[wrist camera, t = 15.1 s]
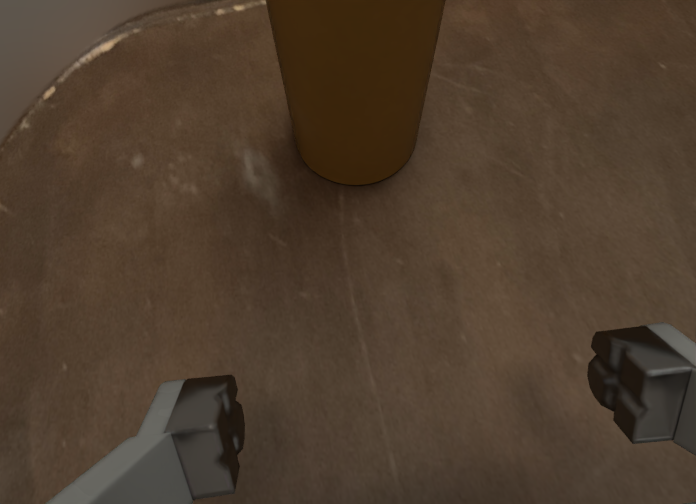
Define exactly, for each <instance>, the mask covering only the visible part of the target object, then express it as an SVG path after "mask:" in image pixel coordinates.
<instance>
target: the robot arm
mask: <svg viewBox="0 0 696 504" xmlns="http://www.w3.org/2000/svg"><path fill="white" fill-rule="evenodd" d="M591 348H592V349H593V351H594V352H595V353H596V356H595V357H594V358H593V359H592V360H591V361H590V362H589V364H588V374H587V377H588V381H589V386H590V389H591V391H592V393H593V395H594V397H595V398H596V399H597V401H598V402H599V403H600V405H602V406H604V407H606V408H608V409H610V410H611V411H613V412H614V418H613V421H614V422H615V423H616V424H617V425H618V427H619V428H620V429H621V430H622V431H623V433H624V434H625V435H626V436H627V438H628V439H629V440H630V441H631V442H632V444H637V443H647V442H657V441H668V440H674V441H673V442H674V443H676V444H678V445H679V446H681V447H682V448H684V449H686V450H687V451H689V452H691V453H692V454H694V455H696V344H695V343H694V342H693V341H691V340H690V339H689V338H688V337H686V336H685V335H684V334H682V333H681V332H680V331H678V330H677V329H676V328H674V327H673V326H672V325H670V324H667V323H664V322H661V323H654V324H648V325H641V326H639V327H631V328H623V329H615V330H607V331H599V332H596V333H595V335H594V336H593V338H592V344H591ZM237 391H238V388H237V385H236V381H235V377H234V376H232V375H222V376H212V377H202V378H191V379H187V380H186V379H183V380H174V381H165V382H164V383H162V384H161V385H160V386H159V388H158V390H157V393H156V395H155V397H154V399H153V401H152V403H151V405H150V407H149V410H148V412H147V414H146V416H145V418H144V420H143V422H142V424H141V427H140V429H139V431H138V433H137V435H136V437H130V438H128V439H126V440H125V441H124V442H122V443H121V444H120V445H119V446H117V447H116V448H115V449H114V450H112V451H111V452H110V453H109V454H107V455H106V456H105V457H104V458H102V459H101V460H100V461H98V462H97V463H96V464H95V465H93V466H92V467H91V468H90V469H88V470H87V471H86V472H85V473H83V474H82V475H81V476H80V477H78V478H77V479H76V480H74V481H73V482H72V483H71V484H69V485H68V486H67V487H66V488H64V489H63V490H62V491H61V492H59V493H58V494H57V495H56V496H54V497H53V498H52V499H50V500H49V501H48V502H47V503H45V504H192V503H193V500H196V499H202V498H209V497H215V496H222V495H228V494H235V489H236V483H237V478H238V473H239V467H240V465H239V461H238V457H237V455H238V454H239V453H240V452H241V450H242V449H243V445H244V439H245V422H244V414H243V409H242V405H241V404H239V403H238V402H237V401H236V395H237ZM684 504H696V502H692V503H684Z"/></svg>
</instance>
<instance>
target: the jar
mask: <svg viewBox="0 0 696 504" xmlns="http://www.w3.org/2000/svg"><path fill="white" fill-rule="evenodd" d="M445 1H446V0H266V5H267V10H268V14H269V19H270V24H271V28H272V33H273V38H274V43H275V47H276V52H277V57H278V62H279V66H280V71H281V76H282V80H283V85H284V90H285V95H286V99H287V104H288V109H289V114H290V118H291V123H292V128H293V133H294V137H295V142H296V146H297V149H298V152H299V154H300V156H301V157H302V159H303V160H304V162H305V163H306V164H307V165H308V166H309V167H310V168H311V169H312V170H313V171H314V172H316V173H317V174H319V175H320V176H322V177H324V178H326V179H328V180H330V181H333V182H337V183H340V184H346V185H365V184H371V183H375V182H378V181H381V180H383V179H385V178H388V177H389V176H391V175H393V174H394V173H396V172H397V171H398V170H399V169H401V168H402V167H403V166H404V164H405V163H406V162H407V161H408V159H409V158H410V156H411V155H412V153H413V151H414V148H415V145H416V140H417V136H418V131H419V126H420V121H421V116H422V112H423V107H424V102H425V97H426V92H427V88H428V83H429V78H430V73H431V68H432V64H433V59H434V54H435V49H436V44H437V40H438V35H439V30H440V25H441V21H442V16H443V11H444V6H445Z"/></svg>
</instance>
